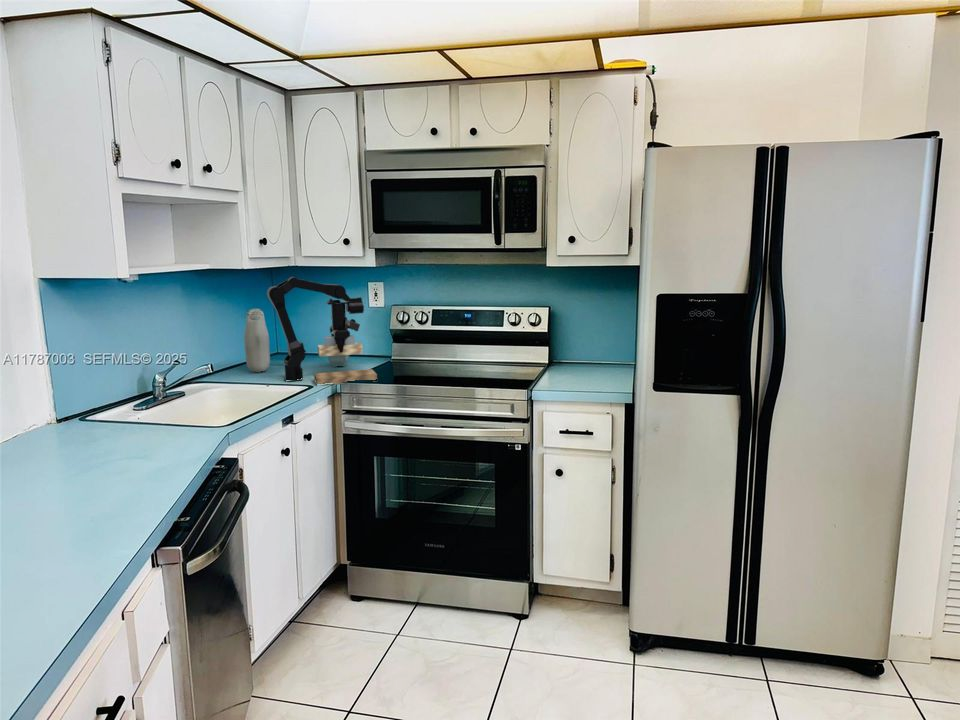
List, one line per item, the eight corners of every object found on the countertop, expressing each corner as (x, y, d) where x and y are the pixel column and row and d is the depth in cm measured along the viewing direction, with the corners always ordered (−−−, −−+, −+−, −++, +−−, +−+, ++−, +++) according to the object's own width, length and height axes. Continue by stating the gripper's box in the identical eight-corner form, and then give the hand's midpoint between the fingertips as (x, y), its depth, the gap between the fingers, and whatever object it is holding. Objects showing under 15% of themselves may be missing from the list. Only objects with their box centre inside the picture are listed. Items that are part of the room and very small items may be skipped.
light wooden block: (319, 356, 288) (319, 347, 287) (318, 354, 293) (317, 345, 292) (362, 353, 294) (362, 344, 293) (360, 351, 299) (360, 342, 298)
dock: (317, 385, 275) (316, 378, 274) (314, 380, 285) (313, 373, 285) (377, 381, 282) (376, 373, 282) (372, 376, 293) (372, 369, 292)
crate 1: (325, 346, 289) (325, 338, 288) (324, 344, 292) (324, 336, 292) (335, 345, 290) (335, 337, 289) (334, 344, 294) (334, 336, 293)
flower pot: (327, 368, 312) (326, 348, 310) (332, 364, 321) (331, 345, 319) (346, 368, 312) (345, 348, 310) (350, 364, 320) (349, 345, 319)
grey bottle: (243, 371, 306) (239, 308, 301) (266, 368, 312) (262, 306, 307) (251, 375, 298) (246, 310, 293) (274, 372, 304) (270, 308, 299)
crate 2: (345, 345, 291) (345, 336, 291) (344, 343, 295) (343, 335, 294) (354, 344, 293) (354, 336, 292) (353, 343, 296) (353, 335, 296)
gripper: (361, 316, 284) (363, 353, 287) (354, 311, 302) (355, 346, 304) (334, 317, 281) (335, 355, 283) (328, 312, 298) (330, 348, 301)
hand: (340, 351), depth 293 cm, fingers closed on light wooden block, 5 cm apart
